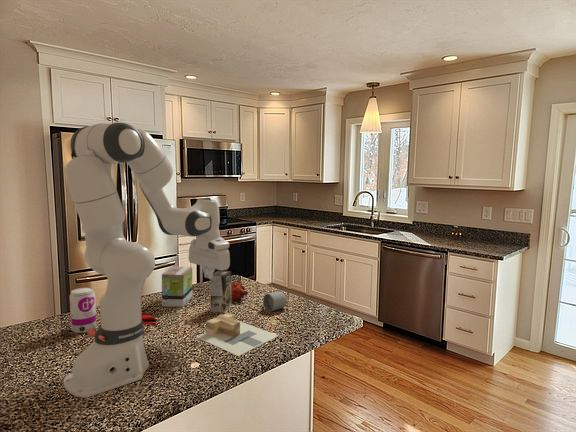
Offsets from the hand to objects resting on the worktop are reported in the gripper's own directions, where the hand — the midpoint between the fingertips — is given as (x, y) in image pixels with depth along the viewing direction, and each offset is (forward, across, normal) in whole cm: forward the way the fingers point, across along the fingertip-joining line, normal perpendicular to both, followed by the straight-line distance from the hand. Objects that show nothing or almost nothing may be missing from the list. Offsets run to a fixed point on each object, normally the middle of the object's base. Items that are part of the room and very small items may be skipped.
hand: (208, 277), depth 142 cm
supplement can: (+19, -33, -32) cm, 50 cm away
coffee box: (+19, -10, +15) cm, 27 cm away
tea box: (+19, -33, +9) cm, 40 cm away
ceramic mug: (+19, +6, +30) cm, 36 cm away
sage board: (+19, +16, 0) cm, 25 cm away
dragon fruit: (+19, -15, +29) cm, 38 cm away
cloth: (+20, -29, -14) cm, 38 cm away
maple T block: (+19, +10, 0) cm, 21 cm away
